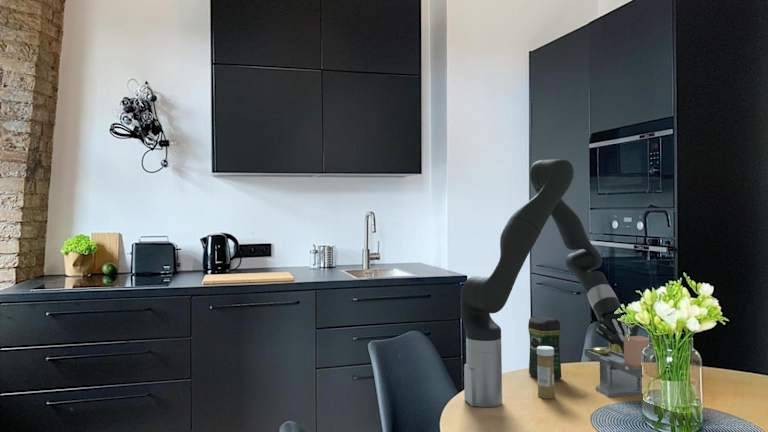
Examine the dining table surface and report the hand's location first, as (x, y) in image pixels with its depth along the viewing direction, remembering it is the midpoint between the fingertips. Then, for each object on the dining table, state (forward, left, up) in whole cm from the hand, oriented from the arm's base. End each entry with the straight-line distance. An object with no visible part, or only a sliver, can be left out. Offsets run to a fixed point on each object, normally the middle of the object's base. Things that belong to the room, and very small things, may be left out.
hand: (631, 355), depth 152 cm
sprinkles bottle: (-22, +6, -11) cm, 25 cm away
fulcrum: (0, +5, -11) cm, 12 cm away
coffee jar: (-14, +23, -11) cm, 29 cm away
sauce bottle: (+16, +31, -11) cm, 36 cm away
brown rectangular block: (0, -4, -2) cm, 4 cm away
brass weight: (0, +15, -3) cm, 15 cm away
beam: (0, +5, -3) cm, 6 cm away
